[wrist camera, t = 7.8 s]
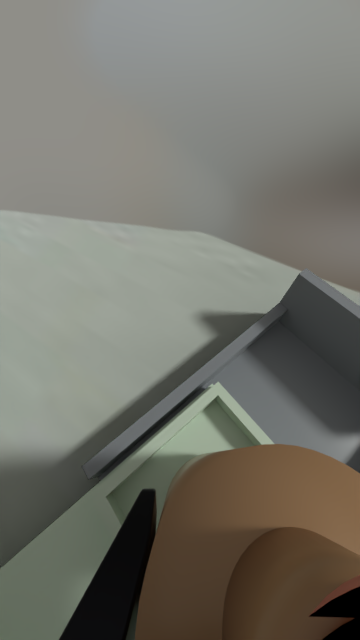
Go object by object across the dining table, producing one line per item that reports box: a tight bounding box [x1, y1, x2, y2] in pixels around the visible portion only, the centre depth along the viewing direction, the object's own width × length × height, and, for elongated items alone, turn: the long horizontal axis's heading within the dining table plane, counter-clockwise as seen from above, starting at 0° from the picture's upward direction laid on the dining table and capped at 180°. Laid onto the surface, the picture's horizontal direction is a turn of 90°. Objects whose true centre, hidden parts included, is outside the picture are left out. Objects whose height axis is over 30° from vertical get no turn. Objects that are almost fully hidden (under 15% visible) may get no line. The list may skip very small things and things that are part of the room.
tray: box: [0, 382, 274, 640], centre depth 11 cm, size 19×12×5 cm, turn 130°
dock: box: [82, 268, 360, 481], centre depth 14 cm, size 18×12×6 cm, turn 130°
